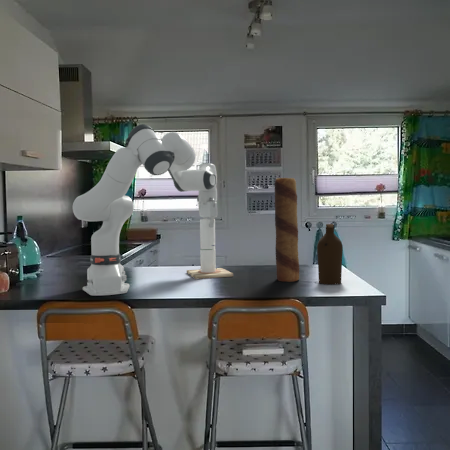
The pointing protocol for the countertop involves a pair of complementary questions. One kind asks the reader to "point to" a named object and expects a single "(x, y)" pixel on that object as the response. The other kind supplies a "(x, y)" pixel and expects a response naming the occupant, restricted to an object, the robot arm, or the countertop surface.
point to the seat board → (218, 273)
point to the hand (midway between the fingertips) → (208, 226)
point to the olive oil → (329, 257)
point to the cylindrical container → (207, 246)
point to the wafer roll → (286, 230)
